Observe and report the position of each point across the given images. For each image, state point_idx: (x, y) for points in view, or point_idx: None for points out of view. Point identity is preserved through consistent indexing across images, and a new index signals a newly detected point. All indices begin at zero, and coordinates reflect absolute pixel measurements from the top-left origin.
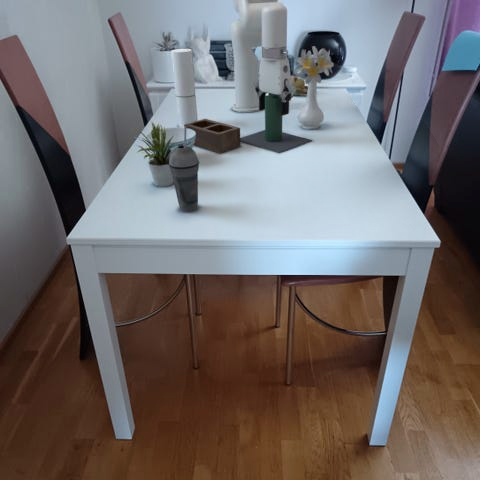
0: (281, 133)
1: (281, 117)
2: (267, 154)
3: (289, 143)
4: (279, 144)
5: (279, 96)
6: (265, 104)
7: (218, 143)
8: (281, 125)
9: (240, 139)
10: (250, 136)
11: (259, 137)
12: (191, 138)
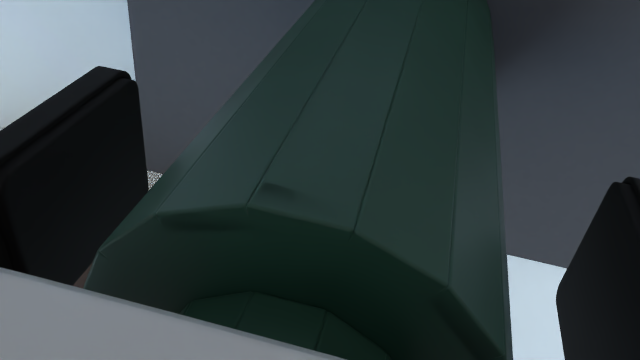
0: (492, 45)
1: (499, 145)
2: (532, 314)
3: (623, 70)
4: (532, 135)
5: (395, 345)
6: None
7: None
8: (495, 90)
9: (168, 159)
10: (167, 60)
11: (249, 48)
12: None
